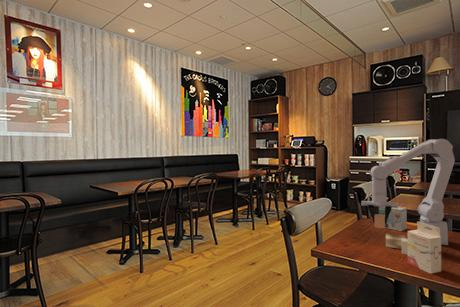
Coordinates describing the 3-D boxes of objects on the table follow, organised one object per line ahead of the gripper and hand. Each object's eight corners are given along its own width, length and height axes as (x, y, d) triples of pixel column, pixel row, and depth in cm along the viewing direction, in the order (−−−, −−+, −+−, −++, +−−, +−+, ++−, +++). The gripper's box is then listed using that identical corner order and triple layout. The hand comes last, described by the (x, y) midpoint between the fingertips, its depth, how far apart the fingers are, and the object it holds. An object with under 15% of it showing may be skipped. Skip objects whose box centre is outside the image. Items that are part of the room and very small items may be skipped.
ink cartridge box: (406, 263, 94) (406, 222, 94) (417, 261, 95) (416, 220, 95) (431, 274, 86) (430, 229, 86) (442, 271, 87) (441, 227, 87)
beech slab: (405, 244, 112) (405, 235, 112) (406, 249, 106) (405, 240, 106) (386, 241, 116) (385, 233, 116) (385, 246, 110) (385, 238, 110)
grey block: (413, 252, 104) (413, 239, 104) (414, 256, 100) (414, 242, 100) (401, 250, 106) (401, 238, 106) (401, 254, 102) (401, 241, 102)
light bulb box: (378, 226, 137) (378, 205, 137) (384, 224, 141) (384, 203, 141) (401, 231, 128) (401, 209, 128) (407, 228, 132) (407, 207, 132)
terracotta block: (385, 226, 121) (384, 215, 121) (384, 228, 117) (384, 217, 117) (375, 224, 123) (374, 214, 123) (374, 227, 119) (374, 216, 119)
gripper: (360, 193, 120) (361, 222, 120) (398, 195, 113) (399, 226, 113) (361, 190, 126) (362, 219, 126) (398, 192, 119) (398, 222, 119)
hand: (379, 222), depth 120 cm, fingers closed on terracotta block, 4 cm apart
